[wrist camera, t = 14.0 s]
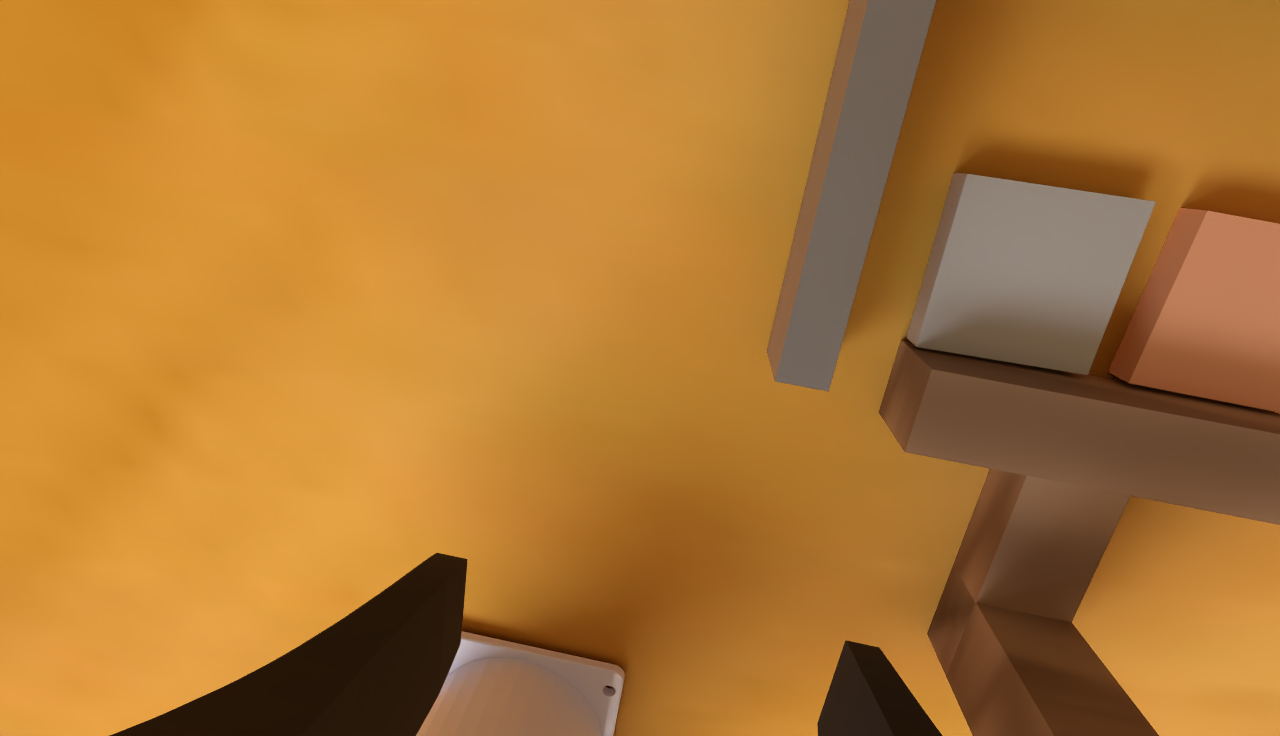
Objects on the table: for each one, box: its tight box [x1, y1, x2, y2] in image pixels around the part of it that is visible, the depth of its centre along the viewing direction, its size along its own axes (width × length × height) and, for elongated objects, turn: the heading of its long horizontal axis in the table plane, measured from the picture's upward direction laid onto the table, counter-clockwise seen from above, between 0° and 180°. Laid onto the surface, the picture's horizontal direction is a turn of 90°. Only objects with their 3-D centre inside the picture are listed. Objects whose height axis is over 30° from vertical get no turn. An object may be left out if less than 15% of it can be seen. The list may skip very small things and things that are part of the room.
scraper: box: [879, 340, 1280, 736], centre depth 17 cm, size 10×11×9 cm
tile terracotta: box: [1108, 208, 1280, 413], centre depth 18 cm, size 5×5×2 cm
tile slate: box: [906, 173, 1156, 375], centre depth 19 cm, size 5×5×2 cm
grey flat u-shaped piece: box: [767, 0, 936, 391], centre depth 16 cm, size 14×19×3 cm
